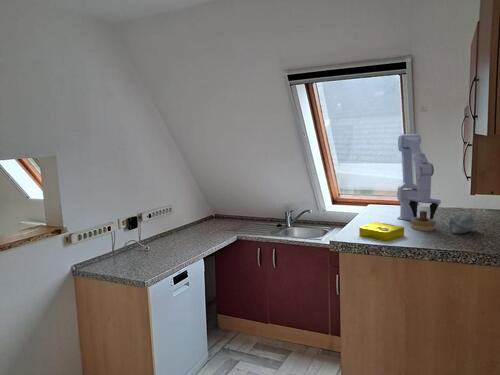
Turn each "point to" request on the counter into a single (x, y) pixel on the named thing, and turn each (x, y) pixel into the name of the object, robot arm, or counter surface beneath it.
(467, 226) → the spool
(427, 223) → the bead
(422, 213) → the peg
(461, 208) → the counter surface
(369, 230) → the element tile
